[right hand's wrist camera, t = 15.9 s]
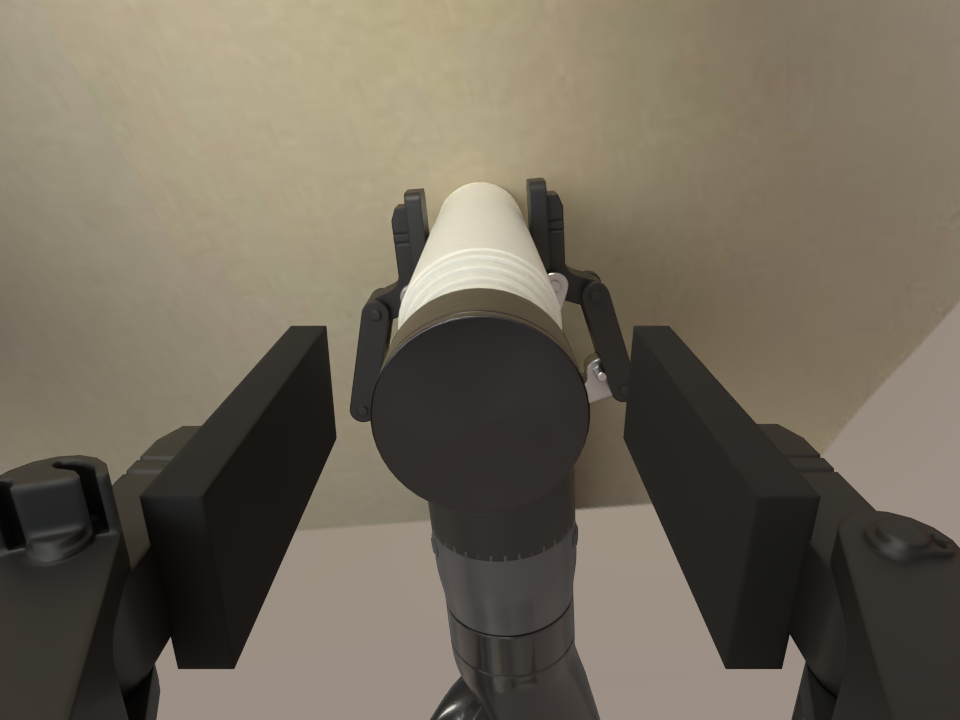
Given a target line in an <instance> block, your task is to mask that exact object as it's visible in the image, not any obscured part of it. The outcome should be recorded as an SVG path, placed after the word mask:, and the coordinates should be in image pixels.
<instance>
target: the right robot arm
mask: <svg viewBox="0 0 960 720" xmlns="http://www.w3.org/2000/svg"><path fill="white" fill-rule="evenodd" d="M335 440H336V427H335V416H334V405H333V394H332V384H331V373H330V362H329V351H328V340H327V329H326V326H291V327H290V328H289V329H288V330H287V331H286V332H285V333H284V334H283V336H282V337H281V338H280V339H279V340H278V341H277V342H276V343H275V345H274V346H273V347H272V348H271V349H270V350H269V351H268V352H267V354H266V355H265V356H264V357H263V358H262V359H261V360H260V361H259V363H258V364H257V365H256V366H255V367H254V368H253V369H252V370H251V371H250V373H249V374H248V375H247V376H246V377H245V378H244V379H243V380H242V382H241V383H240V384H239V385H238V386H237V387H236V388H235V389H234V391H233V392H232V393H231V394H230V395H229V396H228V397H227V398H226V399H225V401H224V402H223V403H222V404H221V405H220V406H219V407H218V408H217V410H216V411H215V412H214V413H213V414H212V415H211V416H210V417H209V419H208V420H207V421H206V422H205V423H204V424H203V425H202V426H182V427H180V428H179V429H177V430H175V431H173V432H171V433H169V434H168V435H166V436H164V437H162V438H160V439H159V440H157V441H156V442H155V443H154V444H153V445H152V446H151V447H150V448H149V449H148V450H147V451H146V452H145V453H144V454H143V455H142V456H141V457H140V458H141V459H140V460H137V461H136V462H135V463H134V464H133V465H132V466H131V467H130V468H129V469H128V470H127V474H126V475H122V476H121V477H120V478H119V479H118V480H117V481H116V482H115V483H114V484H113V485H112V484H111V480H110V476H109V472H108V468H107V464H106V463H104V462H103V461H101V460H99V459H98V458H95V457H88V456H82V455H76V456H60V457H54V458H49V459H45V460H40V461H36V462H32V463H29V464H26V465H24V466H21V467H18V468H15V469H12V470H10V471H8V472H6V473H4V474H2V475H0V720H156V718H157V711H158V703H159V696H160V686H159V679H158V674H157V670H156V666H155V662H156V660H157V659H158V657H159V655H160V654H161V652H162V650H163V649H164V647H165V645H166V644H167V642H168V640H169V638H170V637H171V639H172V644H173V648H174V653H175V657H176V662H177V666H178V669H234V668H235V666H236V664H237V662H238V659H239V657H240V655H241V652H242V650H243V648H244V646H245V643H246V641H247V639H248V637H249V634H250V632H251V630H252V628H253V625H254V623H255V621H256V619H257V616H258V614H259V612H260V610H261V607H262V605H263V603H264V601H265V598H266V596H267V594H268V592H269V589H270V587H271V585H272V582H273V580H274V578H275V576H276V574H277V571H278V569H279V567H280V564H281V562H282V560H283V558H284V555H285V553H286V551H287V549H288V546H289V544H290V542H291V540H292V537H293V535H294V533H295V531H296V528H297V526H298V524H299V522H300V519H301V517H302V515H303V513H304V510H305V508H306V506H307V504H308V501H309V499H310V497H311V495H312V492H313V490H314V488H315V486H316V483H317V481H318V479H319V476H320V474H321V472H322V470H323V467H324V465H325V463H326V461H327V458H328V456H329V454H330V452H331V449H332V447H333V445H334V443H335ZM624 440H625V443H626V445H627V447H628V449H629V452H630V454H631V456H632V458H633V461H634V463H635V465H636V467H637V470H638V472H639V474H640V476H641V479H642V481H643V483H644V486H645V488H646V490H647V492H648V495H649V497H650V499H651V501H652V504H653V506H654V508H655V510H656V513H657V515H658V517H659V519H660V521H661V524H662V526H663V528H664V531H665V533H666V535H667V537H668V540H669V542H670V544H671V546H672V549H673V551H674V553H675V555H676V558H677V560H678V562H679V565H680V567H681V569H682V571H683V573H684V576H685V578H686V580H687V582H688V585H689V587H690V589H691V592H692V594H693V596H694V598H695V601H696V603H697V605H698V607H699V610H700V612H701V614H702V616H703V619H704V621H705V623H706V625H707V628H708V630H709V632H710V634H711V637H712V639H713V641H714V643H715V646H716V648H717V650H718V653H719V655H720V657H721V659H722V662H723V664H724V666H725V668H726V669H782V666H783V662H784V657H785V653H786V648H787V644H788V639H789V635H791V637H792V638H793V640H794V642H795V644H796V645H797V647H798V649H799V650H800V652H801V654H802V655H803V657H804V659H805V660H806V662H805V666H804V670H803V675H802V679H801V683H800V687H799V691H798V695H797V699H796V704H795V707H794V712H793V716H792V720H960V548H959V547H958V546H957V545H956V543H955V542H954V541H953V540H952V539H950V538H949V537H947V536H946V535H944V534H942V533H941V532H939V531H938V530H936V529H935V528H933V527H931V526H929V525H926V524H924V523H922V522H919V521H917V520H915V519H912V518H909V517H905V516H901V515H897V514H894V513H890V512H882V511H876V510H875V509H874V508H873V507H872V506H871V505H870V504H869V503H868V502H867V501H866V500H865V499H864V498H863V497H862V496H861V495H860V494H859V493H858V492H857V491H856V490H855V489H854V488H853V487H852V486H851V485H850V484H849V483H848V482H847V481H846V480H845V479H844V478H843V477H842V476H841V475H840V474H839V473H838V472H834V468H833V467H832V466H831V465H830V464H829V463H828V462H827V461H826V460H825V459H824V458H820V454H819V453H818V452H817V451H816V450H815V449H814V448H813V447H812V446H811V445H810V444H809V443H808V442H807V441H806V440H805V439H804V438H802V437H800V436H799V435H797V434H795V433H793V432H791V431H789V430H788V429H786V428H784V427H782V426H780V425H778V424H756V423H755V422H754V421H753V420H752V419H751V417H750V416H749V415H748V414H747V413H746V412H745V411H744V410H743V408H742V407H741V406H740V405H739V404H738V403H737V402H736V401H735V399H734V398H733V397H732V396H731V395H730V394H729V393H728V392H727V391H726V389H725V388H724V387H723V386H722V385H721V384H720V383H719V382H718V380H717V379H716V378H715V377H714V376H713V375H712V374H711V373H710V371H709V370H708V369H707V368H706V367H705V366H704V365H703V364H702V363H701V361H700V360H699V359H698V358H697V357H696V356H695V355H694V354H693V352H692V351H691V350H690V349H689V348H688V347H687V346H686V345H685V343H684V342H683V341H682V340H681V339H680V338H679V337H678V336H677V334H676V333H675V332H674V331H673V330H672V329H671V328H670V327H669V326H634V329H633V340H632V351H631V362H630V373H629V383H628V394H627V405H626V416H625V427H624Z"/></svg>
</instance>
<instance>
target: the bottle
mask: <svg viewBox="0 0 960 720" xmlns="http://www.w3.org/2000/svg"><path fill="white" fill-rule="evenodd" d="M471 288H491V289H497V290H503V291H507V292H510V293H513V294H516V295H519V296H521V297H523V298H525V299H527V300H529V301H531V302H533V303H534V304H536V305H537V306H539V307H540V308H541V309H543V310H544V311H545V312H546V313H547V314H549V315H550V316H551V318H552V319H553V320H554V321H555V322H556V323H557V324H558V326H559V327H560V328H561V330H562V315H561V310H560V305H559V302H558V299H557V296H556V294H555V292H554V289H553V287H552V284H551V282H550V280H549V277H548V275H547V273H546V270H545V268H544V265H543V263H542V261H541V258H540V256H539V254H538V251H537V249H536V246H535V244H534V242H533V239H532V237H531V234H530V232H529V230H528V227H527V225H526V223H525V220H524V218H523V215H522V213H521V211H520V208H519V206H518V204H517V203H516V201H515V200H514V198H513V197H512V196H511V195H510V194H509V193H508V192H507V191H505V190H504V189H502V188H501V187H499V186H497V185H494V184H491V183H486V182H475V183H470V184H466V185H464V186H461V187H459V188H458V189H456V190H455V191H453V192H452V193H451V194H450V195H449V196H448V197H447V199H446V200H445V201H444V203H443V205H442V207H441V209H440V211H439V214H438V216H437V218H436V221H435V223H434V226H433V228H432V230H431V233H430V235H429V238H428V240H427V242H426V245H425V247H424V250H423V252H422V254H421V257H420V259H419V262H418V264H417V266H416V269H415V271H414V274H413V276H412V278H411V281H410V283H409V285H408V288H407V290H406V293H405V295H404V297H403V300H402V303H401V307H400V310H399V317H398V330H399V329H400V327H401V326H402V325H403V324H404V322H405V321H406V320H407V319H408V318H409V317H410V316H411V315H412V314H413V313H414V312H415V311H416V310H417V309H419V308H420V307H422V306H423V305H425V304H426V303H428V302H429V301H431V300H433V299H435V298H437V297H439V296H441V295H444V294H447V293H450V292H453V291H458V290H463V289H471Z"/></svg>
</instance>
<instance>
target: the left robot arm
mask: <svg viewBox="0 0 960 720" xmlns="http://www.w3.org/2000/svg"><path fill="white" fill-rule="evenodd" d="M526 185H527V205H528V223H529V232H530V234H531V237H532V239H533V242H534V244H535V246H536V249H537V251H538V254H539V256H540V258H541V261H542V263H543V265H544V268H545V270H546V273H547V275H548V277H549V280H550V282H551V284H552V287H553V289H554V292H555V294H556V296H557V299H558V302H559V305H560V310H562V307H563V304H564V300H565V301H569V302H573V303H577V304H580V305H581V308H582V311H583V314H584V317H585V320H586V324H587V327H588V330H589V333H590V336H591V339H592V342H593V345H594V349H595V353H592V354H590V355H589V356H587V358H586V359H585V361H584V374H583V376H582V378H583V380H584V383H585V387H586V390H587V393H588V399H589V404H590V403H593V402H596V401H599V400H602V399H606V398H609V397H612V396H613V397H614V398H615V399H616V400H618V401H620V402H627V394H628V383H629V373H630V361H629V357H628V354H627V351H626V347H625V344H624V341H623V337H622V334H621V331H620V327H619V324H618V321H617V317H616V314H615V311H614V307H613V304H612V301H611V297H610V294H609V291H608V289H607V288H606V286H605V285H604V284H603V283H601V280H600V278H599V277H598V275H597V274H596V273H594V272H592V271H579V270H575V269H572V268H570V267H568V266H567V265H566V264H565V251H564V222H563V205H562V203H561V201H560V198H559V196H558V194H557V193H556V192H555V191H547V190H546V182H545V180H544V179H543V178H534V179H527V181H526ZM404 202H405V204H398V206H397V207H396V208H395V209H394V213H393V217H392V229H393V235H394V243H395V251H396V259H397V266H398V274H399V279H398V281H397V282H395V283H394V284H392V285H390V286H387V287H385V288H379V289H377V290H375V291H374V292H373V293H372V295H371V296H370V298H369V300H368V301H367V303H366V305H365V306H364V308H363V310H362V316H361V324H360V332H359V340H358V348H357V356H356V364H355V372H354V380H353V388H352V396H351V404H350V413H351V415H352V417H353V418H354V419H355V420H357V421H360V422H367V421H370V420H371V410H370V409H371V401H372V395H373V391H374V388H375V384H376V381H377V379H378V376H379V374H380V371H381V368H382V366H383V363H384V361H385V358H386V355H387V353H388V350H389V345H390V338H391V331H392V324H393V319H394V318H396V317H399V310H400V307H401V303H402V300H403V297H404V295H405V293H406V290H407V288H408V285H409V283H410V281H411V278H412V276H413V274H414V271H415V269H416V266H417V264H418V262H419V259H420V257H421V254H422V252H423V250H424V247H425V245H426V242H427V240H428V238H429V226H428V217H427V208H426V200H425V192H424V189H411V190H407V191H406V192H405V194H404ZM428 502H429V501H428ZM429 509H430V517H431V525H432V538H431V542H432V547H433V552H434V553H435V555H436V562H437V567H438V572H439V576H440V579H441V582H442V585H443V589H444V592H445V597H446V603H447V611H448V619H449V627H450V635H451V642H452V648H453V653H454V657H455V661H456V664H457V667H458V669H459V671H460V674H461V677H460V678H459V679H458V680H457V681H456V682H455V684H454V685H453V686H452V687H451V688H450V690H449V691H448V693H447V694H446V695H445V697H444V699H443V700H442V701H441V703H440V705H439V706H438V708H437V709H436V711H435V713H434V714H433V716H432V717H431V719H430V720H600V717H599V714H598V711H597V708H596V704H595V701H594V698H593V695H592V692H591V689H590V686H589V682H588V679H587V676H586V673H585V670H584V667H583V665H582V663H581V660H580V658H579V655H578V653H577V650H576V647H575V643H574V603H573V580H574V573H575V565H576V545H577V540H578V526H577V525H576V522H575V496H574V467H572V469H571V470H570V471H569V472H568V474H567V475H566V476H565V477H564V478H563V479H562V480H561V481H560V482H559V483H558V484H557V485H556V486H555V487H554V488H552V489H551V490H550V491H548V492H547V493H546V494H544V495H542V496H541V497H539V498H537V499H535V500H534V501H531V502H529V503H527V504H525V505H522V506H519V507H516V508H513V509H509V510H504V511H499V512H491V513H468V512H462V511H455V510H451V509H448V508H444V507H441V506H438V505H436V504H433V503H431V502H429Z"/></svg>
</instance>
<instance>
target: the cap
mask: <svg viewBox="0 0 960 720" xmlns="http://www.w3.org/2000/svg"><path fill="white" fill-rule="evenodd" d="M370 410H371V427H372V433H373V437H374V440H375V443H376V447H377V449H378V451H379V453H380V455H381V457H382V459H383V461H384V462H385V464H386V465H387V467H388V468H389V470H390V471H391V472H392V473H393V474H394V476H395V477H396V478H397V479H398V480H399V481H400V482H401V483H402V484H403V485H404V486H406V487H407V488H408V489H409V490H411V491H412V492H414V493H415V494H416V495H418V496H419V497H421V498H423V499H425V500H427V501H429V502H431V503H433V504H436V505H438V506H441V507H444V508H448V509H451V510H455V511H462V512H468V513H491V512H499V511H504V510H509V509H513V508H516V507H519V506H522V505H525V504H527V503H529V502H531V501H534V500H535V499H537V498H539V497H541V496H542V495H544V494H546V493H547V492H548V491H550V490H551V489H552V488H554V487H555V486H556V485H557V484H558V483H559V482H560V481H561V480H562V479H563V478H564V477H565V476H566V475H567V474H568V472H569V471H570V470H571V469H572V467H573V466H574V464H575V463H576V461H577V459H578V458H579V456H580V454H581V452H582V449H583V447H584V445H585V442H586V438H587V434H588V430H589V422H590V405H589V399H588V393H587V390H586V387H585V383H584V380H583V378H582V375H581V373H580V370H579V367H578V365H577V362H576V360H575V357H574V355H573V352H572V349H571V347H570V344H569V342H568V340H567V338H566V336H565V334H564V333H563V331H562V330H561V328H560V327H559V326H558V324H557V323H556V322H555V321H554V320H553V319H552V318H551V316H550V315H549V314H547V313H546V312H545V311H544V310H543V309H541V308H540V307H539V306H537V305H536V304H534V303H533V302H531V301H529V300H527V299H525V298H523V297H521V296H519V295H516V294H513V293H510V292H507V291H503V290H497V289H491V288H471V289H463V290H458V291H453V292H450V293H447V294H444V295H441V296H439V297H437V298H435V299H433V300H431V301H429V302H428V303H426V304H425V305H423V306H422V307H420V308H419V309H417V310H416V311H415V312H414V313H413V314H412V315H411V316H410V317H409V318H408V319H407V320H406V321H405V322H404V324H403V325H402V326H401V327H400V329H399V330H398V332H397V334H396V335H395V337H394V339H393V341H392V343H391V346H390V348H389V350H388V353H387V355H386V358H385V361H384V363H383V366H382V368H381V371H380V374H379V376H378V379H377V381H376V384H375V388H374V391H373V395H372V401H371V409H370Z"/></svg>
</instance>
